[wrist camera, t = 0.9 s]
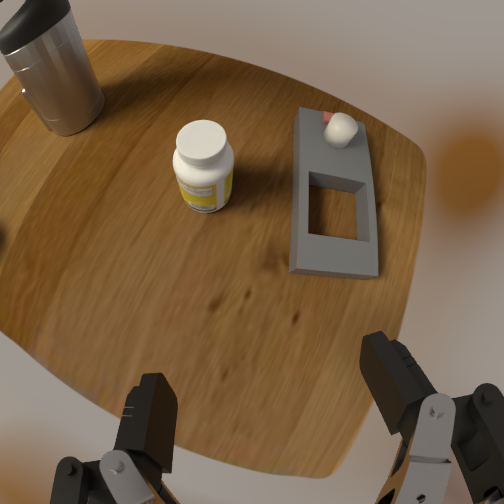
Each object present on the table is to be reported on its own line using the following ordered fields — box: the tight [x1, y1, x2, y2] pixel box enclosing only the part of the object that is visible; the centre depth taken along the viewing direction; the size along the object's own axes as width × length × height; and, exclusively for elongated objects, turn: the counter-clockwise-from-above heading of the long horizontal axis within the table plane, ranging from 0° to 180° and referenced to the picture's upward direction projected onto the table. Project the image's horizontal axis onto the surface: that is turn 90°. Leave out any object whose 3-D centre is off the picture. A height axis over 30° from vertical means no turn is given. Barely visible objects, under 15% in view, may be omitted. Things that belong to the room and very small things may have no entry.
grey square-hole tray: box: [289, 107, 378, 280], centre depth 28 cm, size 9×20×6 cm, turn 175°
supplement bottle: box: [173, 120, 234, 213], centre depth 24 cm, size 5×5×10 cm
